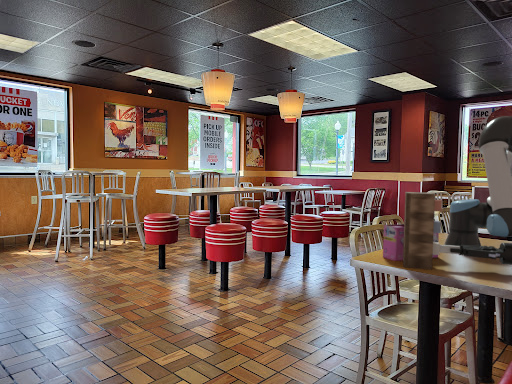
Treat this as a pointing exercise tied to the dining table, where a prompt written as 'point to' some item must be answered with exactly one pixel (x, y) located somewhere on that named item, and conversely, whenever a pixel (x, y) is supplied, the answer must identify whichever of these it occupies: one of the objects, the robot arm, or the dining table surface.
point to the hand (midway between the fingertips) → (439, 248)
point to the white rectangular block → (436, 248)
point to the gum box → (397, 242)
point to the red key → (438, 205)
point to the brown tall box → (418, 230)
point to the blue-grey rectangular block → (437, 227)
